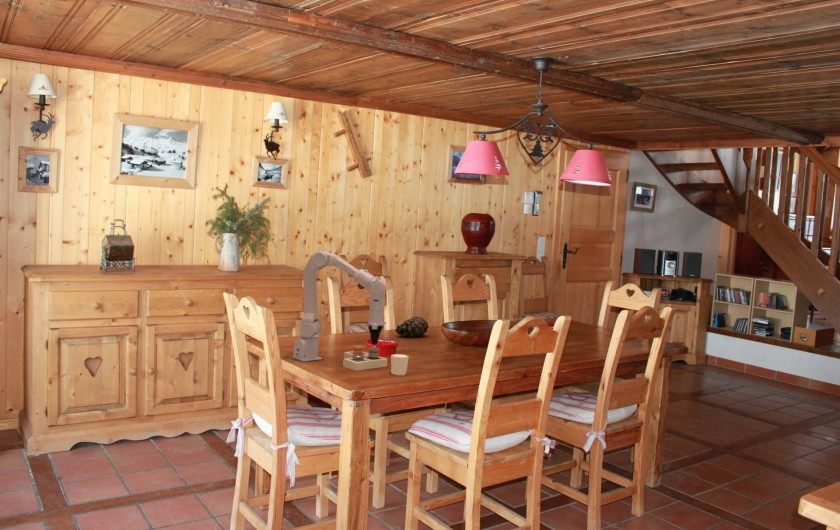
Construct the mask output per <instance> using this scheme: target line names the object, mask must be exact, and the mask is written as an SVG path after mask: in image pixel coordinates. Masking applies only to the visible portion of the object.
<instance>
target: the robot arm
mask: <svg viewBox="0 0 840 530" xmlns="http://www.w3.org/2000/svg"><path fill="white" fill-rule="evenodd" d="M325 267H336V268H338V269H340V270H341V271H343V272H345V273H346V274H348V275H350V276H352V277H353V280H354V282H355V283H357V284H359V285H360V286H362V287H363V288H365V289H367V290H369V292H370V298H369V312H368V321H367V323H368V324H369V325H368V326H367V327H368V331H369V334H370V341H371V342H370V343H371V345H374V346H376V345H378V342H379V338H380V334H381V332H382V330H383V327H384V326H383V325H386V324H387V322H386V321H384V315H385V302H386V299H385V296H386V295H385V294H386V293H385V292H386V291H387V287H388V286H387V283H386V282H385V281H384V280H383V279H381V278H380V279H379V277H378V276H377V275H376V276H374V275H372V274H371V273H370V272H369V270H368V269H363V268H361V269H357V268H356V267H355V266H353V265H352V264H351V263H349V262H347V261H346V260H344V258H341V257H340V256H339V255H337V254H335V253H334V252H331V251H330V250H328V249H322V250H318V251H316V252H314V253H313V254H312V255H310V256H309V259H308V260H307V263H306V264H305V265H304V268H303V315H302V318H301V324H300V327H299V332H300V337H298V338H295V339H294V342H293V355H292V357H291V358H293V359H295V360H298V361H301V362H310V361H317V360H319V361H320V360H323V358H322V357H319V356H318V355H319V342H320V335H319V333H320V331H321V329H322V324H321V321H320V318H319V317H320V316H319V314H318V303H317V302H318V299H317V298H318V296H317V295H318V290H317V289H318V288H317V287H318V285H317V283H318V280H317V274H319V272H320V271H321V270H322V269H323V268H325Z"/></svg>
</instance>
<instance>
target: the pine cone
mask: <svg viewBox="0 0 840 530" xmlns="http://www.w3.org/2000/svg"><path fill="white" fill-rule="evenodd" d="M428 323H429V322H428V321H427V320H426V318H424V317H421V316H412V317H410V318H409V319H406V320H404V321H403V322H402V323H401V324H397V326H396V328H395V332H396V334H397V335H400V336H397V338H398V339H399V338H400V339H418V338H419V339H420V338H425V333H427V331H428V329H429V327H430V326H429V324H428Z"/></svg>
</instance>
